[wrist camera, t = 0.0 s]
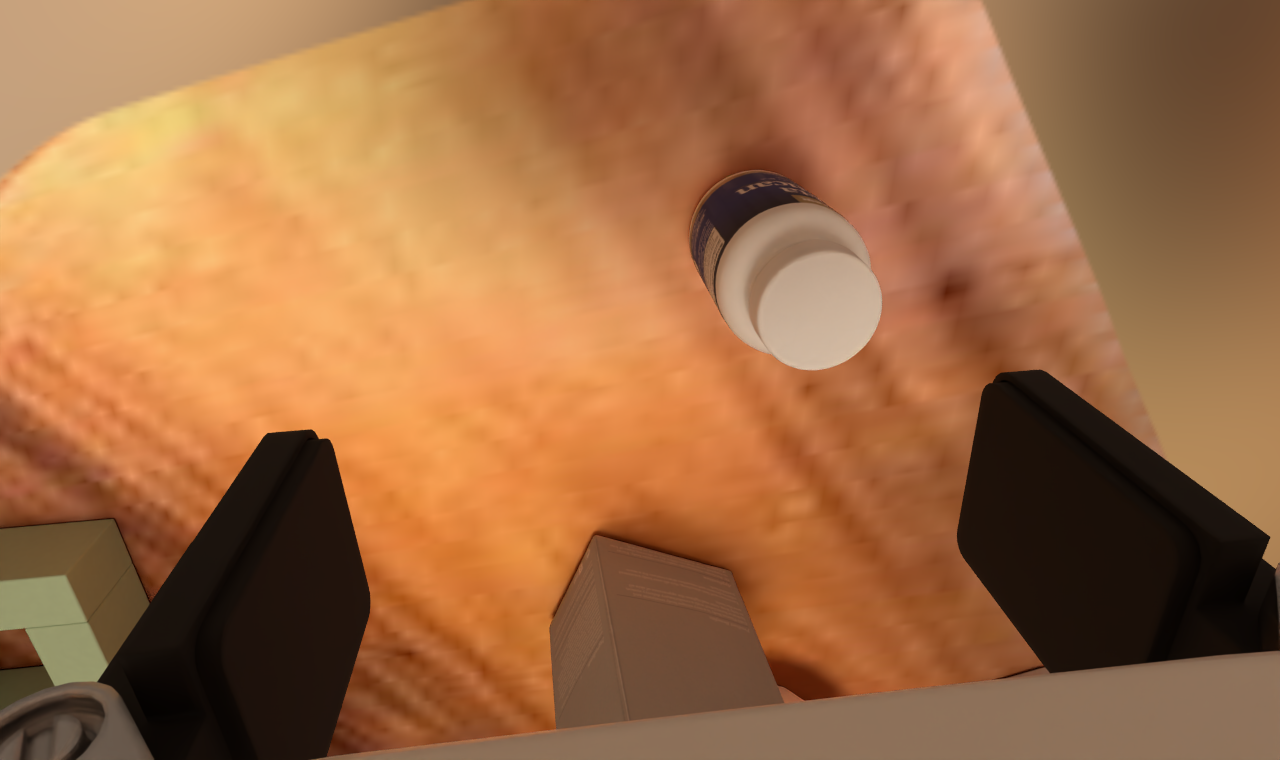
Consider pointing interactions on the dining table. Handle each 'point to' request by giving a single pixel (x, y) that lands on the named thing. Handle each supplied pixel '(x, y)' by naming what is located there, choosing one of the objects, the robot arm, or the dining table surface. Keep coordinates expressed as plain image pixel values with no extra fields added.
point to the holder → (66, 601)
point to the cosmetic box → (653, 640)
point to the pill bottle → (785, 270)
